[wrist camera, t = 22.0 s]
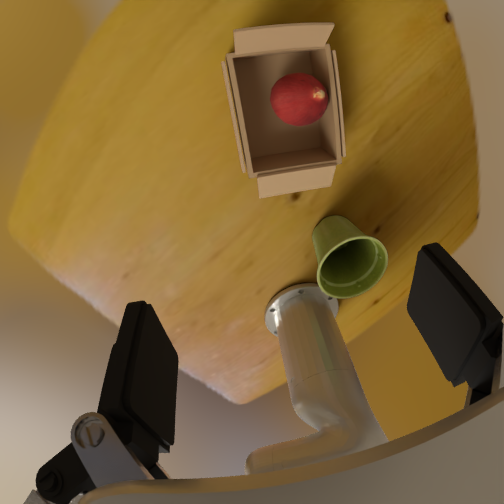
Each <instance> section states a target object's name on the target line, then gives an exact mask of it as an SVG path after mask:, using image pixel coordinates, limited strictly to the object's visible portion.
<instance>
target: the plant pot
mask: <svg viewBox="0 0 504 504" xmlns="http://www.w3.org/2000/svg"><path fill="white" fill-rule="evenodd" d="M312 239H313V244H314V248H315V252H316V256H317V261H318V269H317V282H318V285H319V287H320V289H321V290H322V291H323V292H324V293H325V294H326V295H328V296H330V297H333V298H338V299H346V298H352V297H355V296H358V295H361V294H363V293H364V292H366V291H368V290H369V289H371V288H372V287H373V286H374V285H375V284H377V282H378V281H379V280H380V279H381V277H382V276H383V274H384V272H385V270H386V268H387V264H388V254H387V250H386V248H385V247H384V245H383V244H382V243H381V242H380V241H379V240H378V239H376V238H374V237H371V236H368V235H365V234H364V233H363V232H362V231H361V230H359V229H358V228H357V227H356V226H355V225H354V224H352V223H351V222H350V221H349V220H348V219H346V218H345V217H343V216H339V215H334V216H329V217H326V218H324V219H323V220H322V221H321V222H320V223H319V224H318V225H317V226H316V227H315V229H314V231H313V235H312Z"/></svg>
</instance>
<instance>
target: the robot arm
mask: <svg viewBox="0 0 504 504" xmlns="http://www.w3.org/2000/svg"><path fill="white" fill-rule="evenodd" d="M338 308H339V306H338V301H337V298H333V297H330V296H328V295H326V294H325V293H324V292H323V291H322V290H321V289H320V287H319V285H318V284H315V283H303V284H298V285H294V286H291V287H289V288H287V289H285V290H283V291H281V292H280V293H278V294H277V295H276V296H275V297H274V298H273V299H272V300H271V301H270V302H269V304H268V305H267V308H266V310H265V322H266V326H267V328H268V330H269V331H270V332H271V333H272V334H274V335H275V336H277V337H278V339H279V344H280V348H281V353H282V358H283V363H284V367H285V372H286V377H287V382H288V386H289V391H290V396H291V400H292V405H293V408H294V409H295V412H296V413H297V415H298V416H299V417H300V418H301V419H302V420H303V421H304V422H306V423H307V424H309V425H310V426H312V427H313V428H315V429H317V430H318V431H319V432H317V433H314V434H311V435H309V436H305V437H302V438H298V439H294V440H290V441H286V442H281V443H277V444H273V445H268V446H265V447H261V448H258V449H256V450H255V451H253V452H251V453H250V454H249V456H248V457H247V459H246V462H245V475H240V476H230V477H217V478H200V479H172V478H171V477H170V476H169V474H168V473H167V472H166V471H165V470H164V469H163V467H162V466H161V465H160V464H159V463H158V458H159V453H169V452H170V445H173V444H174V435H175V409H176V391H177V375H178V355H177V352H176V350H175V349H174V347H173V345H172V343H171V341H170V340H169V338H168V336H167V334H166V332H165V330H164V328H163V326H162V324H161V323H160V321H159V319H158V317H157V315H156V313H155V311H154V309H153V307H152V305H151V304H147V303H146V302H145V301H137V302H131V303H128V304H127V306H126V309H125V312H124V316H123V319H122V323H121V326H120V330H119V333H118V337H117V341H116V343H115V344H114V345H113V347H112V350H111V354H110V359H109V362H108V366H107V370H106V374H105V378H104V383H103V387H102V391H101V397H100V401H99V406H98V411H97V413H95V412H90V413H85V414H83V415H81V416H80V417H79V418H78V419H77V420H76V421H75V423H74V424H73V426H72V429H71V440H72V442H71V443H70V444H69V445H68V446H66V447H65V448H64V449H63V450H62V451H61V452H59V453H58V454H57V455H55V456H54V457H53V458H52V459H51V460H49V461H48V462H47V463H46V464H45V465H43V466H42V467H41V468H40V469H39V471H38V473H37V476H36V487H37V491H35V490H32V491H31V493H30V495H29V496H28V498H27V499H26V501H25V502H24V504H504V324H503V323H502V319H503V316H502V315H501V314H500V312H499V311H498V310H497V309H496V307H495V306H494V305H493V304H492V302H491V301H490V300H489V299H488V298H487V296H486V295H485V294H484V293H483V292H482V290H481V289H480V288H479V287H478V286H477V284H476V283H475V282H474V281H473V280H472V279H471V278H470V276H469V275H468V274H467V273H466V272H465V271H464V270H463V269H462V267H461V266H460V265H459V264H458V263H457V262H456V261H455V260H454V259H453V258H452V257H451V256H450V255H449V254H448V253H447V251H446V250H445V249H444V248H443V247H442V246H441V245H440V244H438V243H431V244H427V245H424V246H422V248H421V250H420V251H419V252H418V255H417V261H416V266H415V271H414V276H413V281H412V285H411V290H410V294H409V298H408V303H407V310H408V313H409V315H410V317H411V318H412V320H413V322H414V323H415V325H416V326H417V328H418V330H419V332H420V333H421V335H422V337H423V338H424V340H425V342H426V343H427V345H428V347H429V349H430V350H431V352H432V354H433V356H434V357H435V359H436V361H437V363H438V365H439V366H440V368H441V370H442V372H443V374H444V376H445V377H446V379H447V380H448V381H451V382H452V384H453V386H454V387H455V386H457V385H459V384H461V383H463V382H465V381H467V383H468V385H469V386H468V391H467V396H466V401H465V406H464V409H462V410H460V411H459V412H457V413H455V414H453V415H451V416H449V417H447V418H444V419H442V420H440V421H438V422H436V423H434V424H432V425H429V426H427V427H425V428H423V429H420V430H418V431H415V432H413V433H411V434H408V435H405V436H403V437H400V438H398V439H395V440H393V441H390V442H389V441H388V439H387V437H386V435H385V434H384V432H383V430H382V428H381V427H380V425H379V423H378V421H377V420H376V418H375V416H374V414H373V412H372V410H371V408H370V406H369V404H368V401H367V399H366V397H365V394H364V391H363V389H362V386H361V384H360V381H359V378H358V376H357V373H356V371H355V368H354V366H353V363H352V360H351V358H350V355H349V352H348V350H347V347H346V345H345V342H344V340H343V337H342V335H341V332H340V330H339V327H338V325H337V322H336V320H335V318H336V315H337V313H338Z"/></svg>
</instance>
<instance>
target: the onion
mask: <svg viewBox="0 0 504 504" xmlns="http://www.w3.org/2000/svg"><path fill="white" fill-rule="evenodd" d="M270 102H271V106H272V109H273V110H274V112H275V114H276V115H277V117H279V118H280V119H281V120H282V121H283V122H284V123H287V124H290V125H294V126H305V125H309V124H312V123H314V122H315V121H317V120H319V119H320V118H321V117H322V116H323V114H324V113H325V111H326V109H327V106H328V94H327V91H326V89H325V87H324V86H323V85H322V83H321V82H319V81H318V80H317V79H316V78H315V77H313V76H311V75H308V74H305V73H291V74H287V75H285V76H283V77H282V78H280V79H279V80H277V81H276V83H275V84H274V86H273V87H272V89H271V95H270Z"/></svg>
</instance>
